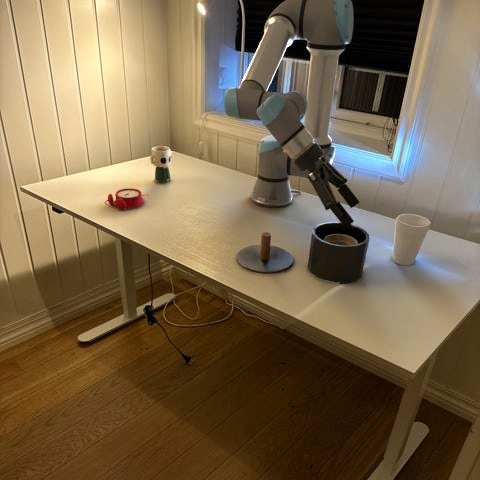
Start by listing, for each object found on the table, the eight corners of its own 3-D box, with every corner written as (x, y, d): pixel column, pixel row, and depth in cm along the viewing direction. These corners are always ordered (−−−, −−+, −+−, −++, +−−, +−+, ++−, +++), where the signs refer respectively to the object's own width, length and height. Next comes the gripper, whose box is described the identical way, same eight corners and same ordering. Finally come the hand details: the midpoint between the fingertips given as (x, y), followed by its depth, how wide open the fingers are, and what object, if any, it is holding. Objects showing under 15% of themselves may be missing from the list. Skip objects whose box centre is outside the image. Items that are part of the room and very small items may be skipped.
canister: (325, 252, 149) (331, 217, 142) (371, 269, 141) (379, 233, 134) (296, 270, 139) (300, 233, 132) (344, 290, 131) (351, 252, 124)
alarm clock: (151, 193, 173) (116, 194, 163) (149, 210, 176) (114, 212, 165) (134, 185, 179) (99, 186, 168) (132, 202, 182) (97, 204, 171)
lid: (260, 243, 152) (261, 217, 147) (303, 260, 144) (307, 234, 139) (224, 261, 142) (224, 234, 137) (269, 281, 133) (271, 253, 128)
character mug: (158, 187, 189) (156, 153, 182) (146, 182, 193) (144, 149, 185) (178, 180, 196) (177, 147, 189) (167, 176, 200) (165, 143, 192)
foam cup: (401, 270, 141) (412, 229, 134) (380, 256, 148) (389, 216, 140) (425, 263, 145) (437, 223, 137) (404, 250, 152) (414, 211, 144)
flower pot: (352, 278, 135) (358, 250, 130) (319, 274, 137) (323, 246, 132) (352, 262, 143) (357, 236, 138) (320, 259, 144) (324, 232, 139)
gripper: (302, 146, 136) (346, 205, 141) (281, 174, 116) (334, 241, 122) (323, 129, 132) (368, 190, 137) (305, 155, 112) (359, 225, 117)
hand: (352, 214), depth 129 cm, fingers open, 13 cm apart
